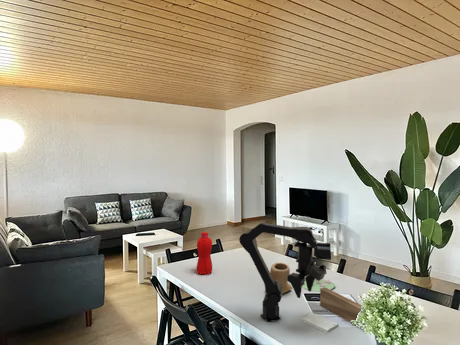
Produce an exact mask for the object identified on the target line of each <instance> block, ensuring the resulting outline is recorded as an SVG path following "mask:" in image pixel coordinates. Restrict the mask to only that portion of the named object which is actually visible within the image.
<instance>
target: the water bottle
mask: <svg viewBox="0 0 460 345" xmlns="http://www.w3.org/2000/svg"><path fill="white" fill-rule="evenodd" d="M212 248H213V240H212V238H210V237H209V232H201V233H200V237H199V238H198V240H197V242H196V249H197V253H198V256H197V257H198V259H197V264H196V273H197V274H198V275H202V276H203V275H206V276H208V275H210V274H211V273H212V272H213V262H212V257H211V253H212Z"/></svg>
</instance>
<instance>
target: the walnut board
mask: <svg viewBox="0 0 460 345" xmlns="http://www.w3.org/2000/svg"><path fill="white" fill-rule="evenodd" d="M319 295H320V296H319V304H320V305H319V306H321V307H322V306H323V308H324V309H326V310H328V311H329V310H330V311H329V312H332V313H333V314H334V315H336V316H338V317H340V318H341V319H344V320H345V321H347V322H348V323H350V321H351V320H356V318H357V315H358V313H359V312H360V311H361V306H363V305H362V304H360V303H358V302H355V301H354V300H351V299H350V298H348V297H345V296H344V295H341V294H339V293H337V292H335V291H333V289H331V290H330V289H328V288H325V287H324V288H320V292H319Z"/></svg>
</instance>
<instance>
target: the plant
mask: <svg viewBox="0 0 460 345" xmlns="http://www.w3.org/2000/svg"><path fill="white" fill-rule="evenodd" d="M304 283H305V284H304V285H303V286H302V288H303V289H304V290H307V291H308V288H307V284H306V279H305V282H304ZM324 287H325V288H328V289H330V290H333V289H334V288H336V284H335V283H334V282H331V281H330V280H325V279H321V280H320V281H318V280H316V279H315V281H314V283H313V286H312V289H311V292H318V293H320V288H324Z"/></svg>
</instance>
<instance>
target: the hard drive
mask: <svg viewBox="0 0 460 345" xmlns="http://www.w3.org/2000/svg"><path fill="white" fill-rule="evenodd" d="M301 321H302V322H304V323H305V324H308V325H310V326H311V327H313V328H316V329H318V330H319V331H321V332H323V333H326V334H328V333H331V332H332V331H333V330H335V329H337V328H339V326H340V324H338V323H337V322H334V321H332V320H330V319H328V318H326V317H323V316H321V315H319V314H317V313H314V312H312V313H310V314H308V315H306V316H304V317H302V318H301Z"/></svg>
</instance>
